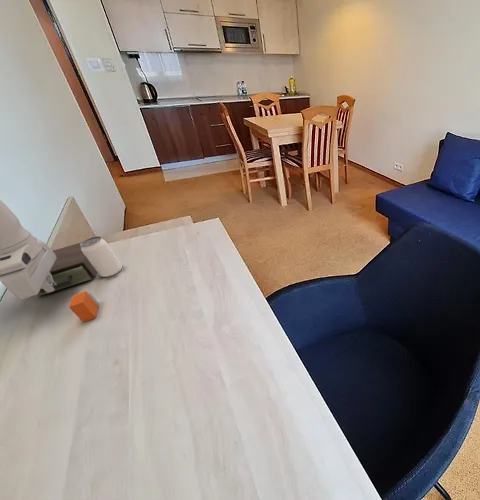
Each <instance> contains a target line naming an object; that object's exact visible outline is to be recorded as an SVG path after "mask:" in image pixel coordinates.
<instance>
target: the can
mask: <svg viewBox="0 0 480 500" xmlns="http://www.w3.org/2000/svg"><path fill="white" fill-rule="evenodd" d="M81 242H82V243H81ZM81 242H80V243H81V244H80V246H81V250H82V252H83V253H84V255H85V256H86V257H87V259H88V260H89V261H90V263H91V264H92V265H93V267H94V268H95V269H96V270H97V274H99V276H100V277H103V278H109V277H112V276H115V275H117V274H119V272H121V271H122V269H123V265H122V263H121V262H120V260H119V259H118V256H117V255H116V254H115V253H114V251H113V250H112V248H111V247H110V245H109V244H108V243H107V241H106V240H105V239H104V238H102V237H101V236H92V237H89V238H86V239H85V240H83V241H81Z"/></svg>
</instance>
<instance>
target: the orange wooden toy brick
mask: <svg viewBox="0 0 480 500" xmlns="http://www.w3.org/2000/svg"><path fill="white" fill-rule="evenodd" d="M99 304H100V302H98V300H97V299H96V298H95V297H94V295H93V294H92V293H91V292H90V293H89V292H88V291H87V290H84V291H82V292H79V293H75V294H73V295H72V297H71V300H70V303H69V306H68V308H69V309H70V310H71V312H73V313H74V314H75V315H76V317H77V318H78V319H79V320H80V321H81V322H82V323H85V322H89V321H91V320H93V319H96V318H97V314H98V310H99Z"/></svg>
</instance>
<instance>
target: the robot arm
mask: <svg viewBox="0 0 480 500" xmlns="http://www.w3.org/2000/svg"><path fill="white" fill-rule="evenodd" d="M56 259H57V258H56V255H55V253H54V252H53V250H52V249H51V248H50V247H49V246H48V245H47V244H46V243H45V242H44V241H42V240H38V238H36V237H35V236H34V235H33V234H32V233H31V232H30V231H29V230H27V229H26V228H24V226H23V225H22V224H21V222H20V219H19V218H18V217H17V216H16V214H15V213H14V212H13V211H12V210H11V209H10V208H9V207H8V205H7V204H5V202H3V201H2V199H0V283H1V284H2V285H3V286H4V287H5V288H6V289H7V290H8V291H9V292H10V293H12V294H13V295H14V296H15V297H16V298H19V299H24V300H25V299H28V298H31V297H34V296H37V295H38V293H39V291H40V289H41V288H42V289H44V290H45V291H46V292H47V294H50V293H54V292H55V291H54V289H55V287H56V285H57V284H56V283H55V282H54V281H53V278H52V275H51V273H50V270H51V268H52V266H53V264H54V263H55V261H56ZM53 291H54V292H53ZM49 292H50V293H49Z"/></svg>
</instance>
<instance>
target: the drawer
mask: <svg viewBox="0 0 480 500" xmlns="http://www.w3.org/2000/svg"><path fill="white" fill-rule="evenodd" d="M51 275H52V278H53V281H54V282H55V283H56V284H57V285H56V287H55V289H54V292H56V290H57V291H59V289H60V290H63V289H65V287H66V288H68V286H69V287H72V286H74V285H78V284H81V283H84V282H87V281H90V280H92V279H91V277H90V275H89V274H88V272H87V271H86V270H85V269H84V267H83V266H82V265H79V266H76V267H73V268H69V269H66V270H63V271H60V272H56V273H53V274H51ZM62 288H63V289H62ZM50 293H51V292H49V293H47V292H46V291H45V290H44V289H42V288H41V289H40V291H39V293H38V294H37V295H38V296H39V297H41V296H45V295H48V294H50Z"/></svg>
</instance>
